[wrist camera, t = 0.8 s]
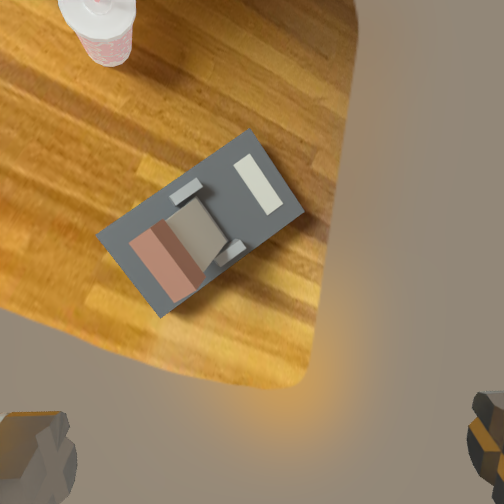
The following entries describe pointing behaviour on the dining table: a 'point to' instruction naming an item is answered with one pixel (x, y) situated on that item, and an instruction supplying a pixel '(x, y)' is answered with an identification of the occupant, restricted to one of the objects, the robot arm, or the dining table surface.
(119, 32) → the beverage cup
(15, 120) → the dining table surface
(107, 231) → the switch panel
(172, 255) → the lever
